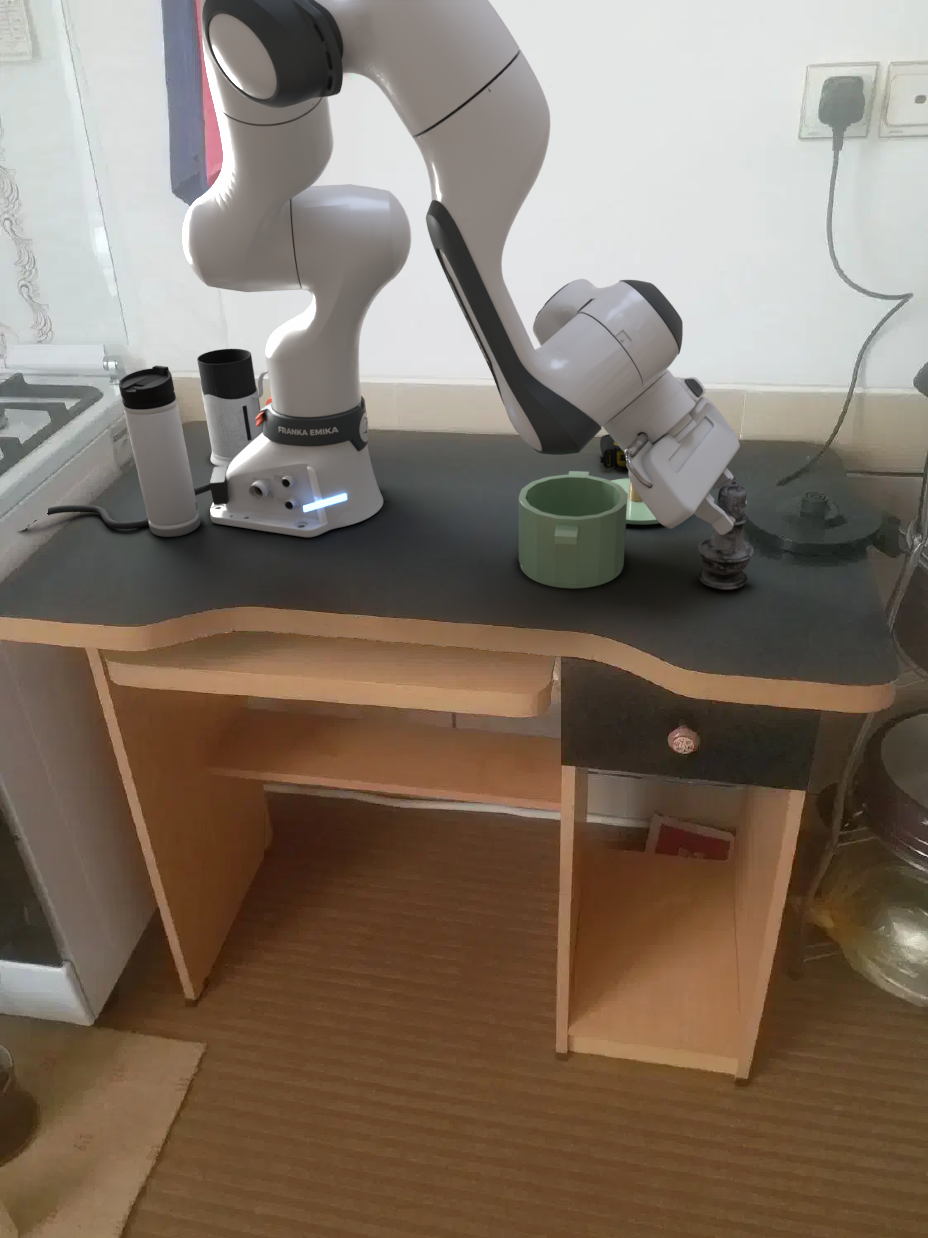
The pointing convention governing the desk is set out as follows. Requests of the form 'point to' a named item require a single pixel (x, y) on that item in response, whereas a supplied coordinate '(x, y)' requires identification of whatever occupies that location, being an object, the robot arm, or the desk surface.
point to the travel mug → (160, 451)
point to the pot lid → (635, 505)
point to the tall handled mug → (230, 401)
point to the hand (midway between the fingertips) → (735, 519)
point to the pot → (572, 530)
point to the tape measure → (611, 453)
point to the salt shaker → (727, 544)
